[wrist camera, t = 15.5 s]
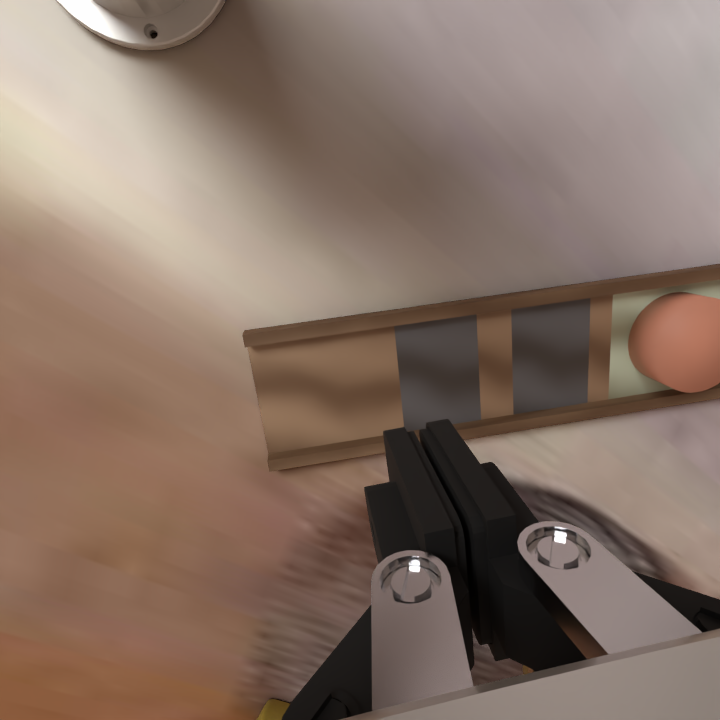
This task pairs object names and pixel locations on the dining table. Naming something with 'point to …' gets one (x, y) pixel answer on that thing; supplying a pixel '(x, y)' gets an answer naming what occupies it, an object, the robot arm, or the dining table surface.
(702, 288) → the trap lane
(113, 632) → the dining table surface
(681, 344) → the salmon rounded disc
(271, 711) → the flower pot
